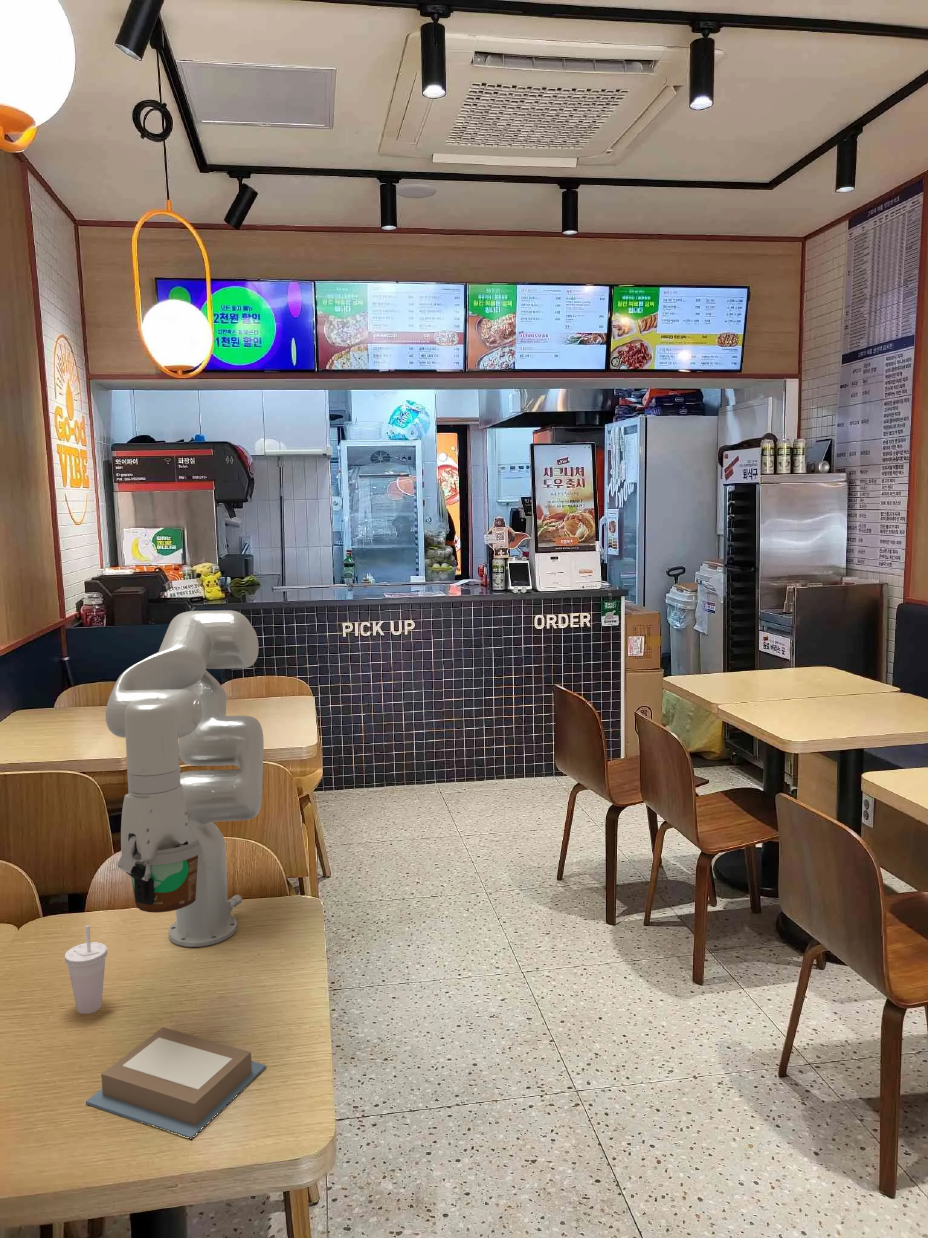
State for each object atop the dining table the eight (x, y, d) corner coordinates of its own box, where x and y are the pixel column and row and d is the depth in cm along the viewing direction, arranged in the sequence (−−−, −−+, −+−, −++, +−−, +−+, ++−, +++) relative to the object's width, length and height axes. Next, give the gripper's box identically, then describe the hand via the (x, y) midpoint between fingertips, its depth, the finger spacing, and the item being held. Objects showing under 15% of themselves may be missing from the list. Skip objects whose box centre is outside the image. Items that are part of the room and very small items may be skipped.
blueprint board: (167, 1039, 134) (166, 1018, 134) (266, 1068, 127) (265, 1045, 127) (85, 1104, 120) (84, 1080, 119) (191, 1140, 113) (190, 1115, 112)
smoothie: (95, 1021, 140) (90, 937, 138) (59, 1016, 141) (53, 933, 139) (118, 999, 146) (113, 918, 144) (84, 995, 147) (79, 915, 145)
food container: (109, 913, 133) (106, 849, 132) (131, 896, 139) (128, 835, 138) (185, 918, 131) (182, 854, 130) (204, 901, 137) (201, 839, 136)
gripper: (174, 763, 143) (179, 870, 145) (91, 794, 127) (98, 913, 129) (211, 768, 140) (215, 877, 142) (131, 800, 124) (137, 922, 127)
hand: (159, 893), depth 136 cm, fingers closed on food container, 5 cm apart
